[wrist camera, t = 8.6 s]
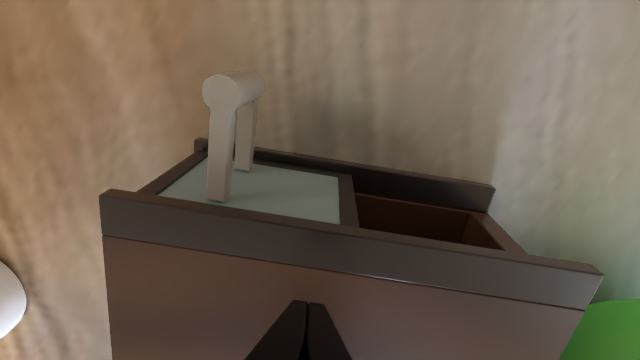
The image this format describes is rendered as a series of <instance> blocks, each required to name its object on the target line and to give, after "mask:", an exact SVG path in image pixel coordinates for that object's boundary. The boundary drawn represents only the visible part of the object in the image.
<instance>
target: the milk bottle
mask: <svg viewBox="0 0 640 360" xmlns="http://www.w3.org/2000/svg"><path fill="white" fill-rule="evenodd" d="M25 309H26V295H25V291H24V289H23V286H22V284H21V283H20V281H19V280H18V278H17V276H16V275H15V274H14V273H13V272H12V271H11V270H10V269H9V268H8V267H7V266H6V265H5V264H3V263H2V262H1V261H0V339H1V338H2V337H3V336H5V335H6V334H7V333H8V332H9V331H10V330H11V329H12V328H14V327H15V326H16V325H17V324H18V323H19V321H20V320H21V318H22V316H23V314H24V311H25Z"/></svg>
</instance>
